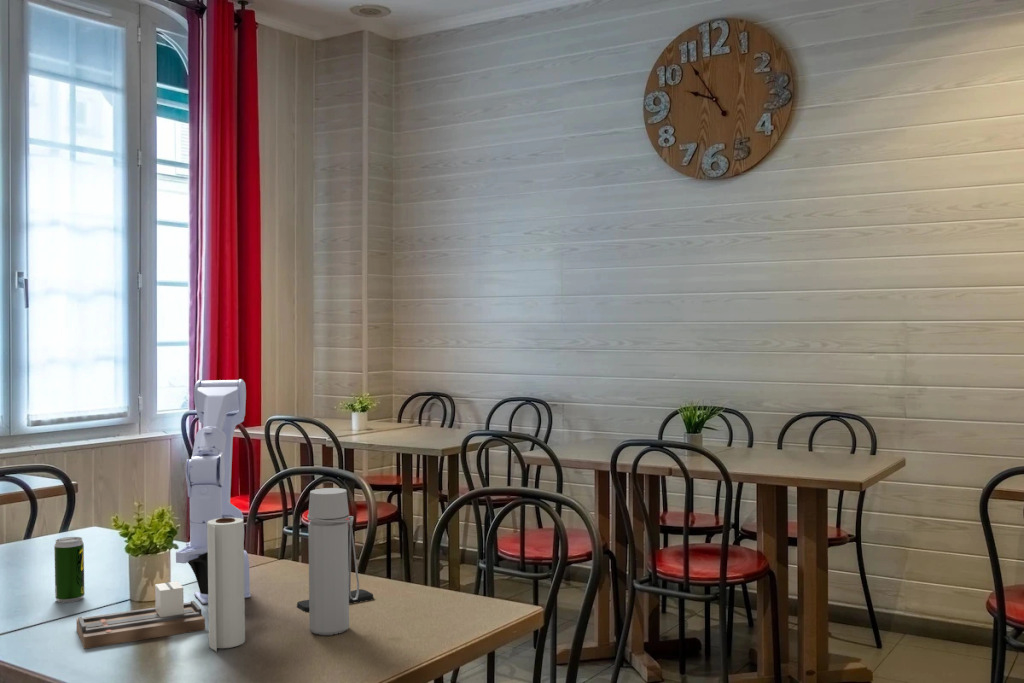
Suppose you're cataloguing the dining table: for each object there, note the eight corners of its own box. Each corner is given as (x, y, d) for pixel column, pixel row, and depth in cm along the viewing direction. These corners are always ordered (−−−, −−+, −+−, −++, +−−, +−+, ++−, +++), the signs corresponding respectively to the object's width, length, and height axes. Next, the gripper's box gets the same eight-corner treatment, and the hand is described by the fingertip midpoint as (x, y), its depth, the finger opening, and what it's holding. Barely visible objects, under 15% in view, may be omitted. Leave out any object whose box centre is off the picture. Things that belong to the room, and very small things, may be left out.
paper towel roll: (231, 635, 173) (230, 514, 172) (252, 642, 169) (250, 519, 168) (195, 646, 167) (193, 521, 167) (216, 653, 163) (214, 525, 163)
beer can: (57, 604, 193) (56, 543, 192) (53, 598, 197) (52, 538, 197) (87, 600, 196) (86, 540, 195) (82, 594, 200) (81, 535, 200)
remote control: (305, 617, 186) (375, 600, 195) (304, 608, 186) (375, 592, 195) (294, 611, 190) (364, 595, 199) (294, 602, 190) (364, 586, 199)
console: (191, 612, 187) (190, 596, 187) (205, 629, 176) (204, 613, 176) (76, 629, 177) (76, 613, 177) (84, 648, 166) (84, 631, 166)
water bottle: (315, 639, 170) (313, 496, 169) (303, 627, 177) (301, 489, 176) (366, 631, 174) (364, 491, 174) (352, 620, 181) (350, 485, 181)
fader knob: (178, 607, 182) (177, 580, 182) (183, 613, 178) (183, 587, 178) (155, 610, 180) (155, 583, 180) (160, 617, 176) (160, 590, 176)
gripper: (213, 511, 190) (214, 581, 190) (161, 526, 176) (162, 601, 177) (243, 513, 188) (244, 584, 188) (193, 529, 174) (194, 605, 174)
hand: (207, 593), depth 182 cm, fingers closed
